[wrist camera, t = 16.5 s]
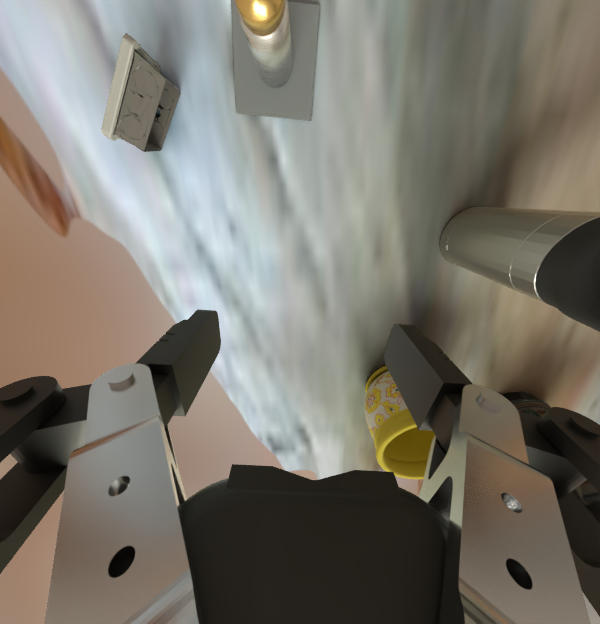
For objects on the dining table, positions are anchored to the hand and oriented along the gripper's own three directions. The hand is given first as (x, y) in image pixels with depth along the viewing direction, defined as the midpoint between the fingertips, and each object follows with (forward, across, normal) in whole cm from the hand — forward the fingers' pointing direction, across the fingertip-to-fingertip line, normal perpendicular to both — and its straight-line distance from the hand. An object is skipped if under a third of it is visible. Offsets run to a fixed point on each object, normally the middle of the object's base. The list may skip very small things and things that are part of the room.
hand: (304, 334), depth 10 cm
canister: (+29, +5, -20) cm, 36 cm away
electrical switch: (+30, +20, -14) cm, 39 cm away
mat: (+30, +5, -20) cm, 36 cm away
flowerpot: (+30, -25, +32) cm, 51 cm away
